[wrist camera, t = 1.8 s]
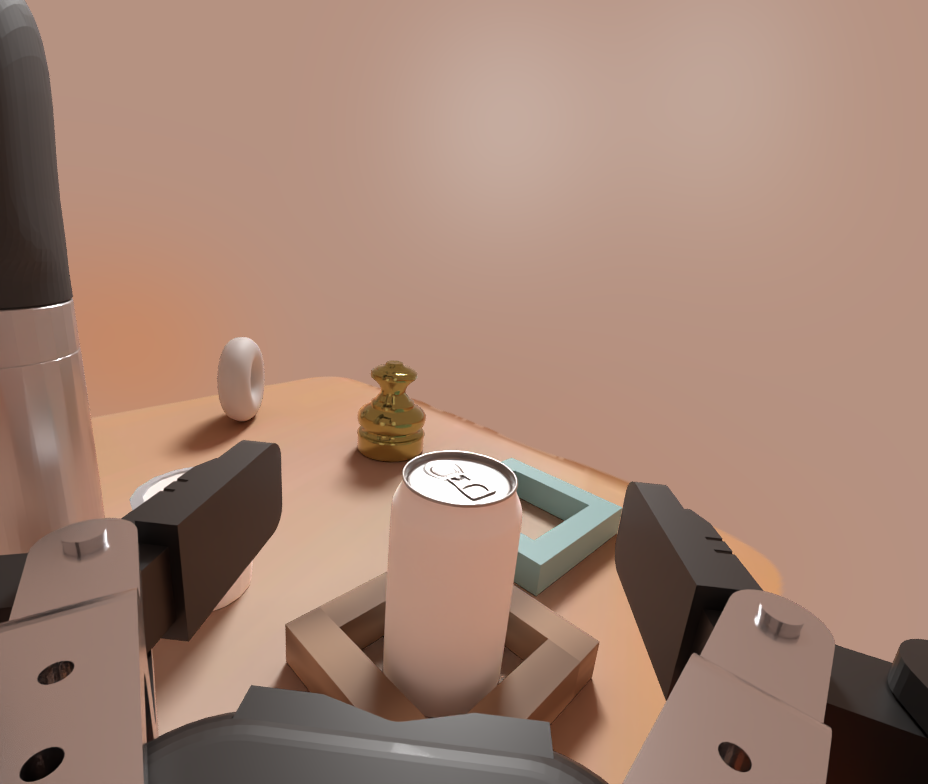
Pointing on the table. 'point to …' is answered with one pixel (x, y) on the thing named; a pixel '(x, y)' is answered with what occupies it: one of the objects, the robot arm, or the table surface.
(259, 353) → the donut
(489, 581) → the can
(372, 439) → the gold tiered piece
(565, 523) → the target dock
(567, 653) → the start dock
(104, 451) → the table surface
